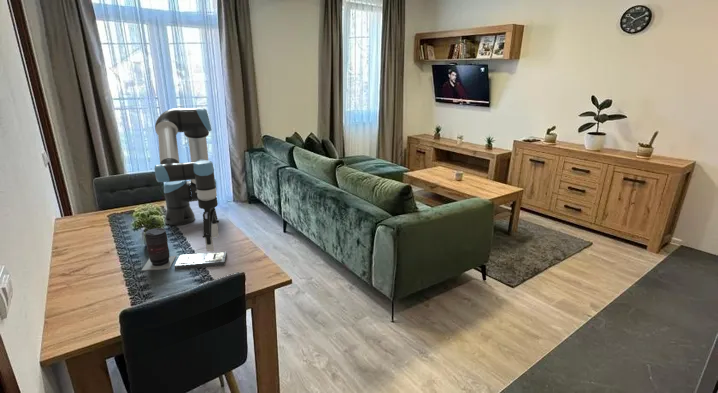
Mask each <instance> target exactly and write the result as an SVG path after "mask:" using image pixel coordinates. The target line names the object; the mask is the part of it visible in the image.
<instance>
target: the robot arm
mask: <svg viewBox="0 0 718 393" xmlns="http://www.w3.org/2000/svg"><path fill="white" fill-rule="evenodd" d="M209 117H210V116H209V114H208V110H207V109H206V108H205V107H184V108H183V107H182V108H176V107H174V108H170V109H167V110H165V111H163V113H161V114H160V115H159V116H158V118H157V119H156V120H155V121H156V122H155V126H154V130H155V133H156V134H157V138H158V153H159V164H155V165H154V175H155V179H156V182H157V183H164V184H163V193H164V198H165V205H166V212H165V216H164V221H165V225H168V224H169V226H181V225H187V224H189V223H192V222H194V220H195V219H196V217H195V212H193V209H192V208H191V204H190V202H191V203H192V202H197V203H198V208H199V209H202V210H204V211H203V213H202V220H203V221H202V223H203V224H202V225H203V226H202V227H203V230H202V231H203V235H202V238H204V239H205V245H206V247H205V248H206V252H211V251H212V252H214V251H215V250H214V249H215V248H214V247H215V246H214V239H213V238H219V229H218V223H219V222H220V220H218V216H217V210H216V207H218V198H217V196H218V195H217V187H218V186H217V179H216V178H215V168H214V163H213V162H212V161H210V160H209V154H208V153H209V152H208V144H207V137H208V136H209V135H210V132H211V131H212V129H213V128H212V126H211V122H210V118H209ZM178 133H183V135H184V136H185V137H186V138H187V139H188V146H189V154H190V162H189V161H188V162H180V157H179V147H178V139H177V135H178Z"/></svg>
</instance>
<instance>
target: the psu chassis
mask: <svg viewBox="0 0 718 393" xmlns="http://www.w3.org/2000/svg"><path fill="white" fill-rule="evenodd" d="M227 257H228V252H227V251H226V250H225V251H215V252H214V251H212V252H211V251H210V252H200V253H188V254H187V253H186V254H179V256H178V258H177V260H176V262H175V264H174V267H173V268H174V271H176V270H177V271H179V270H180V271H181V270H190V268H192V269H199V268H200V267H204V268H212V267H216V268H217V267H224V266H225V265H226V260H227ZM200 269H201V268H200Z"/></svg>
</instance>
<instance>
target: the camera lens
mask: <svg viewBox="0 0 718 393" xmlns="http://www.w3.org/2000/svg"><path fill="white" fill-rule="evenodd" d="M166 231H167V230H166V229H165V228H162V227H161V228H160V227H156V228H152V229H148V230H146V231H145V232H144V233H145V234H144V237H145V243H146V251H147V254H148V257H149V258H150V261H151V262H152V265H153V266H162V265H165V264H167V263H168V262H169V257H170V250H169V249H170V248H169V245H168V233H167V232H166ZM149 258H148V259H149Z"/></svg>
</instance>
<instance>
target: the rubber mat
mask: <svg viewBox="0 0 718 393" xmlns="http://www.w3.org/2000/svg"><path fill="white" fill-rule="evenodd" d="M169 256H170V255H169ZM176 258H177V256H176V255H171V256H170V257H169V262H168V263H167V264H165V265H162V266H153V265H152V262H151V261H150V258H148V260H147V261H146V263H145V264H144V266H143V267H142V269H141V272H146V271H158V270H169V269H171V267H172V265H173V263H174V262H175V260H176Z"/></svg>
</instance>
